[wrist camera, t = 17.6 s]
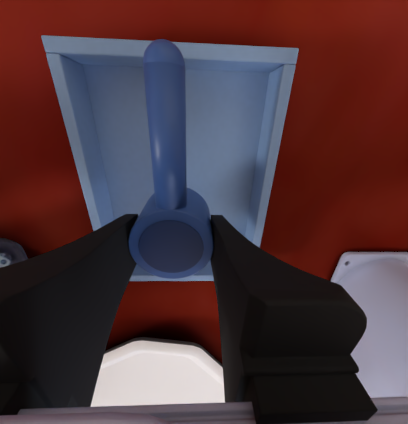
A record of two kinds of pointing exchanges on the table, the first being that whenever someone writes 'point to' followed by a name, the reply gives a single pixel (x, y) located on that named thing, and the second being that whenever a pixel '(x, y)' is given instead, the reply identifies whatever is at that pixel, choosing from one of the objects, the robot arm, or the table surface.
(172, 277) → the blue spoon
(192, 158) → the blue tray
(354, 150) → the table surface
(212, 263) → the robot arm
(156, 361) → the plate
